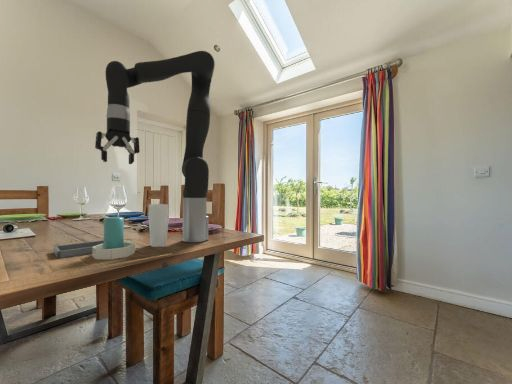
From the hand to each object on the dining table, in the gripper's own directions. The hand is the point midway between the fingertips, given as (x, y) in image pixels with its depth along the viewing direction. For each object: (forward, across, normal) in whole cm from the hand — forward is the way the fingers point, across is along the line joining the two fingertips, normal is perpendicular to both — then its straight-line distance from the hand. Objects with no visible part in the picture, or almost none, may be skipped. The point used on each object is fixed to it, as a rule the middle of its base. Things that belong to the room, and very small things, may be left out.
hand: (118, 162), depth 90 cm
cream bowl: (+30, -6, -18) cm, 36 cm away
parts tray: (+30, -11, -8) cm, 33 cm away
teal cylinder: (+30, -6, -18) cm, 35 cm away
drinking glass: (+30, +9, -15) cm, 35 cm away
